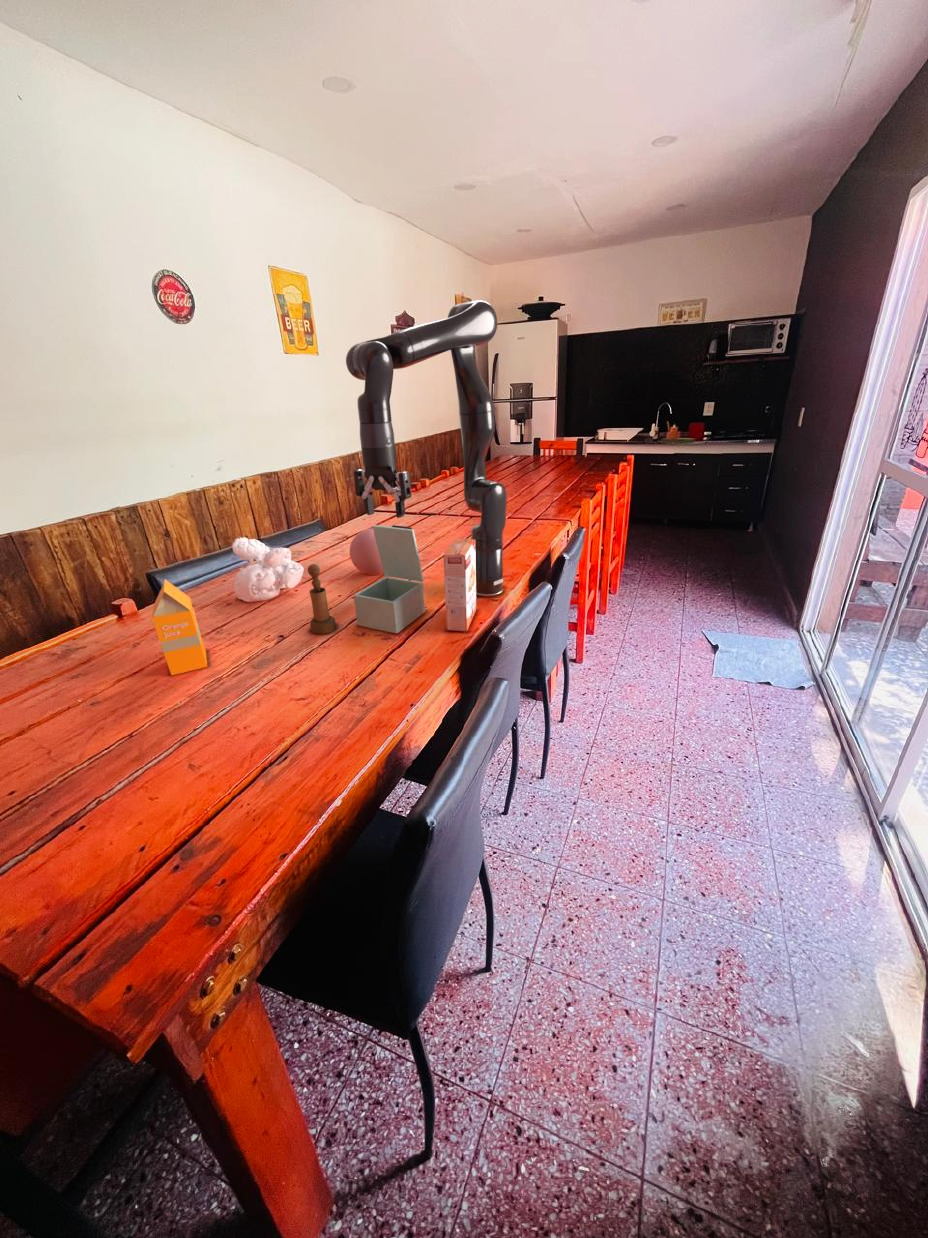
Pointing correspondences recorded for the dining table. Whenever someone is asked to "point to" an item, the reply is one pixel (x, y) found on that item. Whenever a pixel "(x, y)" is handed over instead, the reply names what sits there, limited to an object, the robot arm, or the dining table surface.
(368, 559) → the balloon
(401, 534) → the box lid
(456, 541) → the cracker box
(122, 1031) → the dining table surface
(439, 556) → the dining table surface
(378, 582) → the grey storage box
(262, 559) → the white lumpy blob
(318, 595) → the mortar and pestle
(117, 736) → the dining table surface
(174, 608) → the orange juice
